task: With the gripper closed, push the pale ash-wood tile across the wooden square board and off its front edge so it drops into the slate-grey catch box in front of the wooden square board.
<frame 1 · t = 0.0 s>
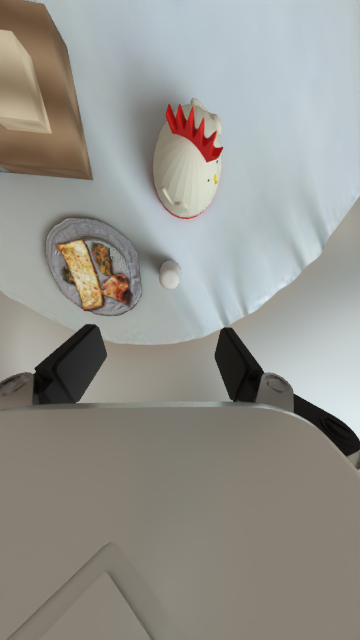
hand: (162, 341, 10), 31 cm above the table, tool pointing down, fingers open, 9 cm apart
kitchen timer: (186, 179, 28), on the table
food plate: (101, 274, 37), on the table
wooden square board: (35, 118, 23), on the table
tile: (18, 95, 20), point 4 cm above the table, touching wooden square board
salt shaker: (170, 270, 37), on the table
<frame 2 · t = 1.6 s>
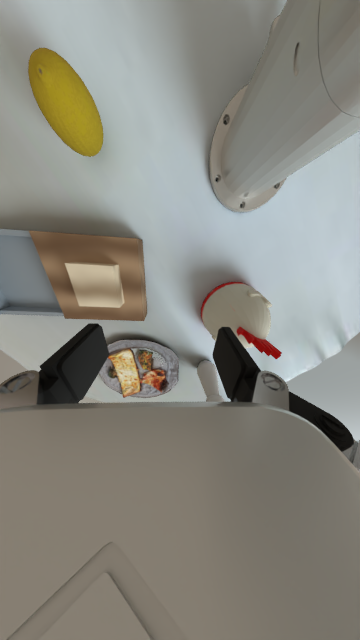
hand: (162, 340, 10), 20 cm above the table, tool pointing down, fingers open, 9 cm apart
kitchen timer: (228, 309, 32), on the table
lemon: (93, 142, 18), on the table
food plate: (141, 367, 40), on the table
wooden square board: (106, 279, 27), on the table
tile: (102, 284, 23), point 4 cm above the table, touching wooden square board
salt shaker: (204, 364, 41), on the table
catch box: (29, 275, 26), on the table
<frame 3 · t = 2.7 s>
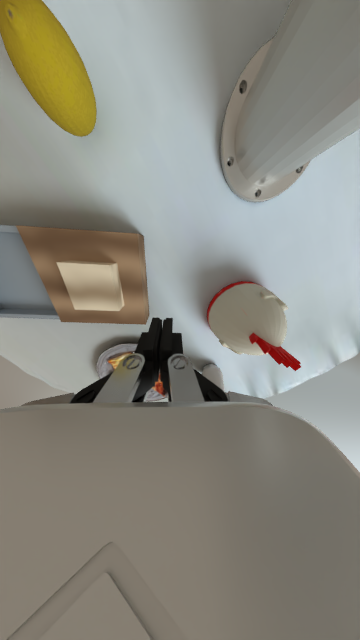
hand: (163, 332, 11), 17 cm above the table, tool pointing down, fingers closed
kitchen timer: (236, 311, 29), on the table
lemon: (85, 119, 16), on the table
food plate: (143, 370, 39), on the table
wooden square board: (104, 279, 25), on the table
tile: (99, 284, 21), point 4 cm above the table, touching wooden square board
salt shaker: (209, 367, 39), on the table
catch box: (22, 275, 24), on the table
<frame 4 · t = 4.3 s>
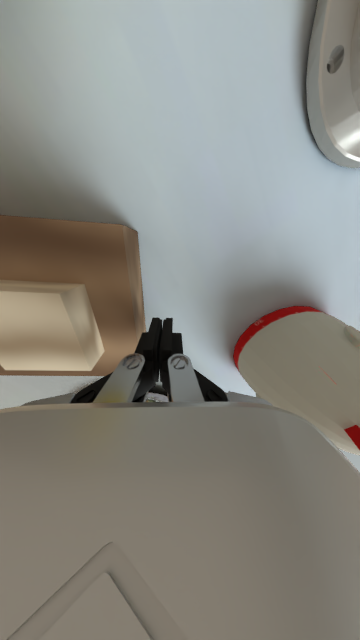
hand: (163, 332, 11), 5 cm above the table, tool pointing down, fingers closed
kitchen timer: (277, 346, 20), on the table
wooden square board: (74, 303, 15), on the table
tile: (55, 321, 11), point 4 cm above the table, touching wooden square board
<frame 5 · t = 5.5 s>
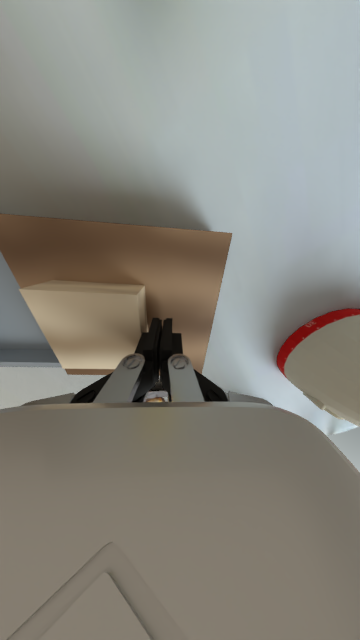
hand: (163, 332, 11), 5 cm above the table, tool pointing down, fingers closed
kitchen timer: (320, 347, 20), on the table
wooden square board: (138, 305, 15), on the table
tile: (109, 320, 12), point 4 cm above the table, touching wooden square board, gripper
catch box: (4, 299, 14), on the table
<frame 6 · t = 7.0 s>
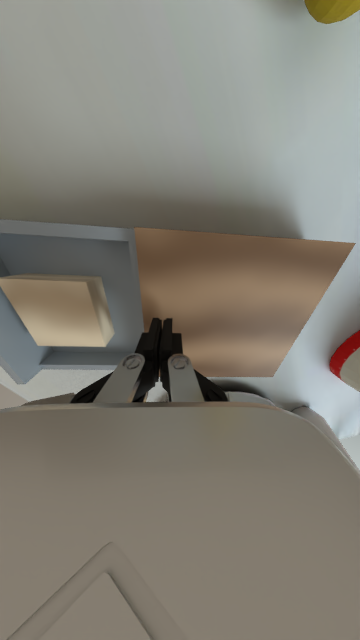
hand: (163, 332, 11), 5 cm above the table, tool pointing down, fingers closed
wooden square board: (214, 309, 16), on the table
tile: (58, 317, 12), point 3 cm above the table, tilted 180°, touching catch box
salt shaker: (299, 410, 30), on the table
catch box: (90, 305, 15), on the table
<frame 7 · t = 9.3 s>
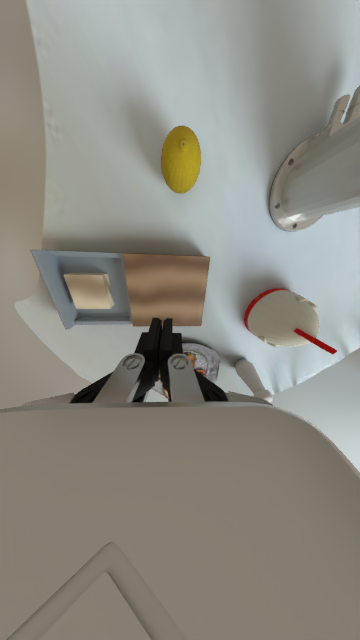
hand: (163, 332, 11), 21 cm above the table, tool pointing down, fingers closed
kitchen timer: (268, 312, 36), on the table
lemon: (178, 180, 22), on the table
food plate: (182, 368, 44), on the table
wooden square board: (167, 290, 30), on the table
tile: (88, 293, 26), point 3 cm above the table, tilted 180°, touching catch box
salt shaker: (240, 363, 44), on the table
catch box: (101, 289, 29), on the table
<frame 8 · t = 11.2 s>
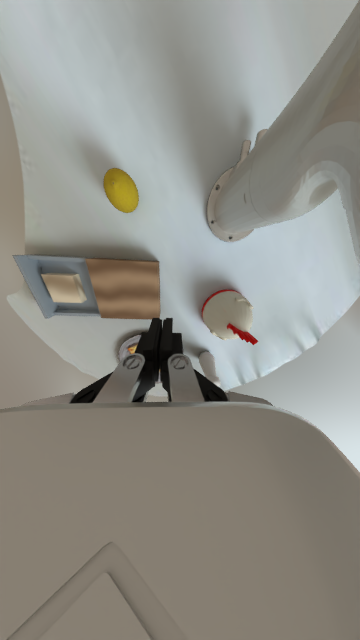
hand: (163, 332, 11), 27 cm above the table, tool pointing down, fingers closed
kitchen timer: (223, 310, 41), on the table
lemon: (129, 200, 27), on the table
food plate: (153, 357, 50), on the table
wooden square board: (131, 288, 36), on the table
tile: (62, 289, 32), point 3 cm above the table, tilted 180°, touching catch box
salt shaker: (205, 354, 50), on the table
catch box: (75, 286, 35), on the table
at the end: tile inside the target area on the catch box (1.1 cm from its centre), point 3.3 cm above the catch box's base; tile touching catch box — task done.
